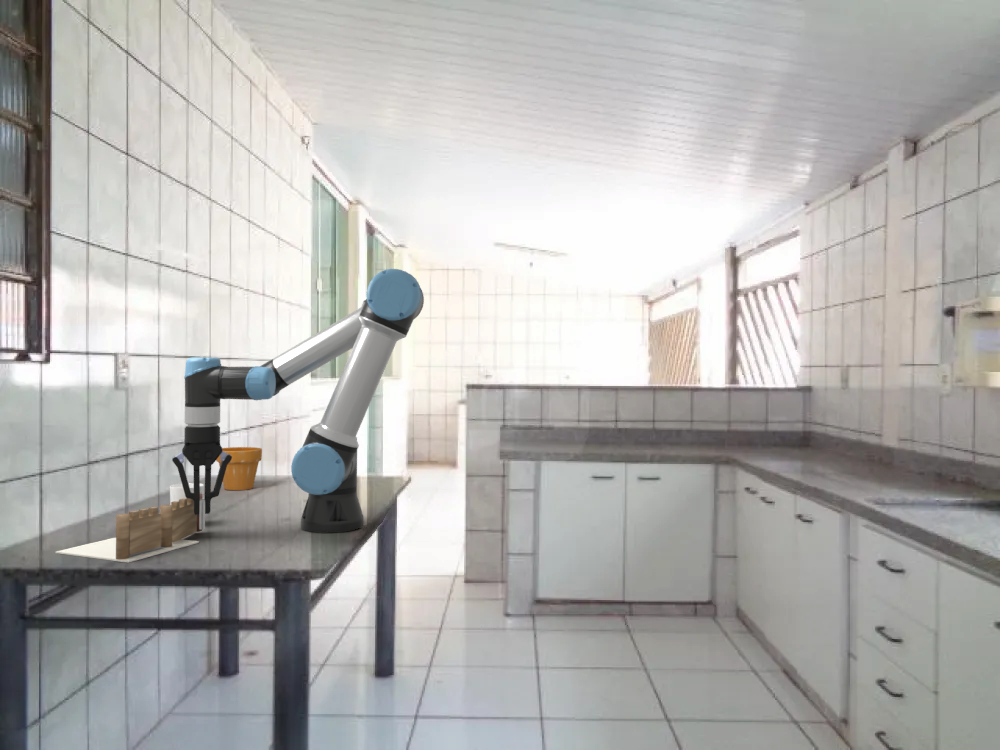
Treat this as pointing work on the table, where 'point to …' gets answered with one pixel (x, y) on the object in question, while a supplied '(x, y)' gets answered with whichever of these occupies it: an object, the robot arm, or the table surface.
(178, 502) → the swing panel
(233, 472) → the flower pot
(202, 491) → the white cup
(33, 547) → the table surface
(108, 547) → the card
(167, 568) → the table surface
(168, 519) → the wooden castle wall
